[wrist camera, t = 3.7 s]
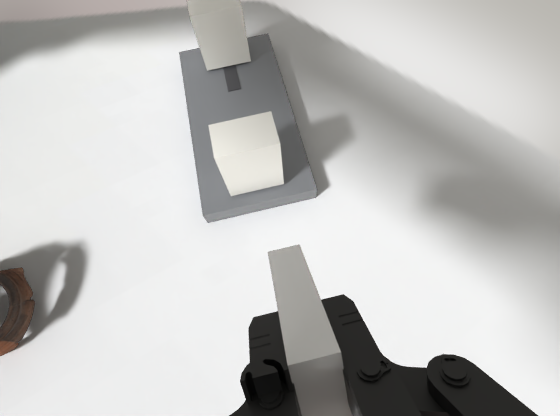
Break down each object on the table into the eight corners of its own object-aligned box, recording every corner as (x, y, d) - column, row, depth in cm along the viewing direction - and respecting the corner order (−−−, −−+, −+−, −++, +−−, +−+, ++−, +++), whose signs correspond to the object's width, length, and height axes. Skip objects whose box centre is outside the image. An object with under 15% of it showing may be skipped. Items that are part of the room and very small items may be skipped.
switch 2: (283, 184, 34) (280, 143, 27) (230, 196, 33) (214, 158, 27) (276, 156, 35) (271, 111, 28) (225, 167, 35) (208, 124, 28)
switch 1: (250, 61, 41) (241, 5, 34) (207, 70, 41) (189, 16, 34) (245, 42, 42) (235, -15, 36) (203, 51, 42) (185, -5, 35)
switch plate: (316, 197, 35) (317, 188, 33) (208, 222, 35) (202, 215, 33) (264, 31, 46) (263, 18, 44) (181, 49, 46) (176, 36, 44)
